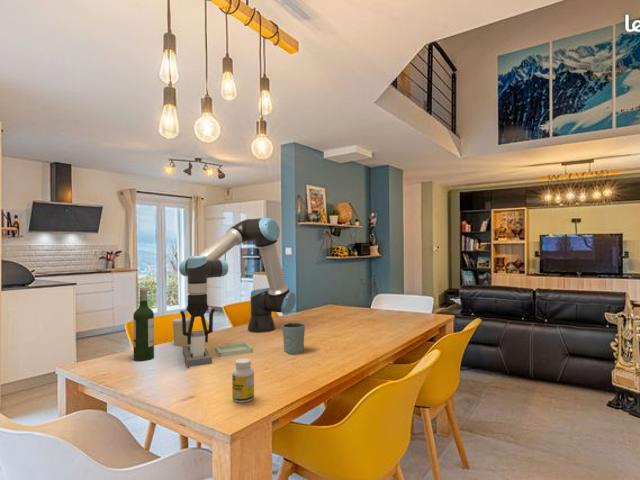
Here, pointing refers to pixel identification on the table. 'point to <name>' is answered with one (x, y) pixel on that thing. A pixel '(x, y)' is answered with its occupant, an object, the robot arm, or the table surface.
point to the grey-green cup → (293, 338)
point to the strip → (196, 358)
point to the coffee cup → (180, 332)
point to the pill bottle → (243, 381)
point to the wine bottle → (143, 329)
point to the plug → (198, 344)
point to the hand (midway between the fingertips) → (197, 351)
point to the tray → (233, 349)
